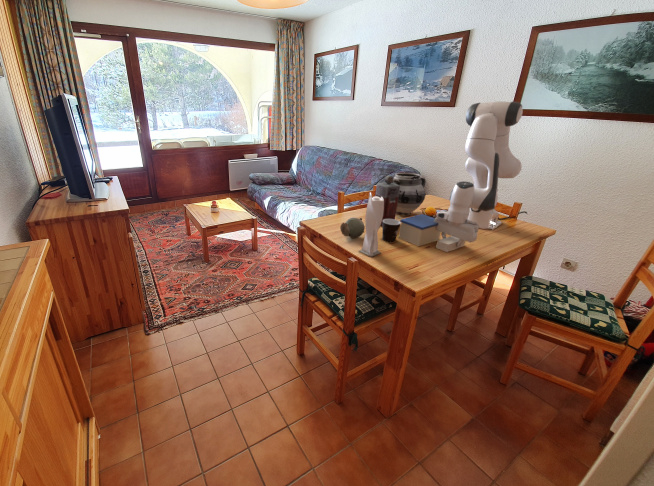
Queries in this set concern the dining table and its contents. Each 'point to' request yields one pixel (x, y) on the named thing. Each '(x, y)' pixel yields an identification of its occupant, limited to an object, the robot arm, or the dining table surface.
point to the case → (449, 243)
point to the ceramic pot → (409, 192)
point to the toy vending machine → (388, 197)
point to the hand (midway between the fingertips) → (450, 243)
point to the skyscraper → (372, 225)
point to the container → (419, 230)
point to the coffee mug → (390, 230)
